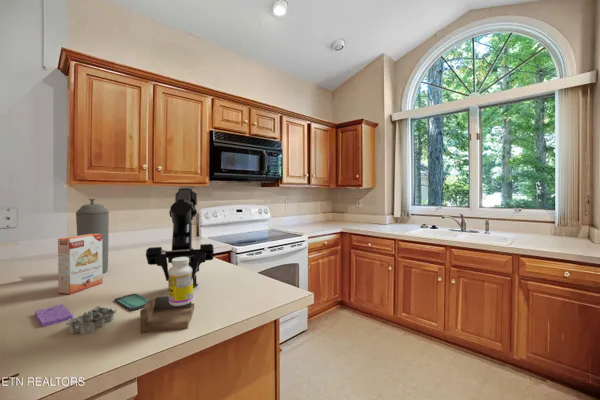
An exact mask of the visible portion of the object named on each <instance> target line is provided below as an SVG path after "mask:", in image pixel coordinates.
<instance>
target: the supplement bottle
mask: <svg viewBox="0 0 600 400" xmlns="http://www.w3.org/2000/svg"><path fill="white" fill-rule="evenodd" d="M171 265H172V267H170V268H168V283H167V284H168V286H167V287H168V295H169V303H170V304H171V305H173V306H181V305H185V304H188V303H190V302H191V301H192V302H193V300H194V288H193V268H192V267H191V266H189V258H188V257H177V258H173V259H172V263H171Z"/></svg>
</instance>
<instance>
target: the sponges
mask: <svg viewBox="0 0 600 400" xmlns="http://www.w3.org/2000/svg"><path fill="white" fill-rule="evenodd" d="M34 316H35V318H36V319H37V321H38V322H39V324H40V326H41V327H42V326H45V327H48V326H47V325H49V326H51V324H52V325H55V323H56V324H59V323H62V322H66V321H68V320H69V319H72V318H74V314H73V313H71V312H70V311H69V310H68V308H67V307H66V306H65V305H64V304H63V303H62V304H57V305H53V306H52V307H51V306H50V307H46V308H41V309H38V310H35V311H34Z"/></svg>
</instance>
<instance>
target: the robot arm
mask: <svg viewBox="0 0 600 400" xmlns="http://www.w3.org/2000/svg"><path fill="white" fill-rule="evenodd" d="M197 195H198V193H197V192H195V191H193V188H191V187H180V188H178V191H177V192H176V193H175V194H174V196H175V197H174V198H175V199H174V203H172V204H171V206H170V209H169V213H168V214H169V217H170V218H171V221H172V237H171V238H172V239H171V241H172V242H171V250H166V249H163V247H162V246H154V247H153V246H152V247H148V248H147V249H146V251H145V258H146V261H147V265H149V266H152V265H153V266H155V265H156V266H157V267H160V268H161V269H162V271H163V273H164V277H165V281H166V282H167V281H168V271H169V267H168V266H169V264H172V259H173V258H177V257H188V258H189V266H191V267H192V268H193V289H194V288H195V287H197V286H198V285H199V284H198V283H197V275H196V274H197V273H198V272H200V266H201V264H202V263H205V262H207V261H212V260H214V248H215V247H214V245H213V244H212V243H205V244H203V243H201V244H200V246H199V247H200V248H198V249H197V248H196V249H195V248H193V247H192V246H193V245H192V244H193V243H192V236H193V234H192V232H193V231H192V230H193V226H192V225H193V223H192V221H193V219H194V218H195V217H196V215H197V213H198V212H197V211H198V209H196V206H197V205H198V196H197Z"/></svg>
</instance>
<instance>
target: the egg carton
mask: <svg viewBox="0 0 600 400" xmlns="http://www.w3.org/2000/svg"><path fill="white" fill-rule="evenodd" d="M116 312H117V309H115V310H113V308H108V307H101V306H99V305H98V306H95V307H94V308H92V309H91V310H89V311H87V312H86V311H85V312H84V313H82V314H81V315H78V316H77V317H73V318H72V319H70V320H67V322H66V323H65V325H66V326H69V334H72V335H74V334H77V333H80V335H82V336H83V335H87V334H91V333H94V332H95V329H98V328H103V326H105V323H108V322H113V321H114V320H115V319H114V315H115V314H116ZM76 332H77V333H76ZM73 333H74V334H73Z"/></svg>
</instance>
